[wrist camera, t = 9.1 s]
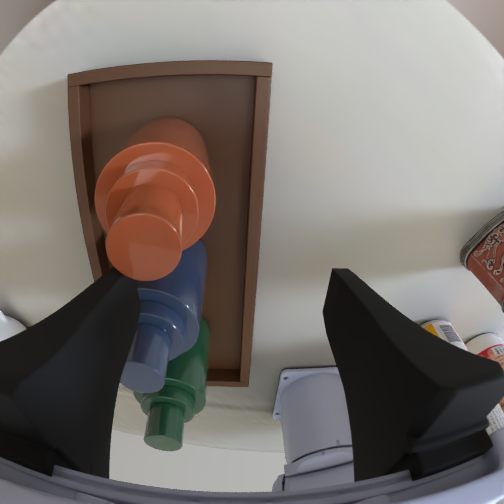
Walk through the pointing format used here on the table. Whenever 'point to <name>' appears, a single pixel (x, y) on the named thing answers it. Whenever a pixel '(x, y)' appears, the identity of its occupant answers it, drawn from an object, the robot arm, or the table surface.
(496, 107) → the table surface
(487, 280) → the lighter
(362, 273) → the table surface
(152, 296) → the slate-blue bottle
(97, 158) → the tray
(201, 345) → the green bottle
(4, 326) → the teacup
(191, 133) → the terracotta bottle
